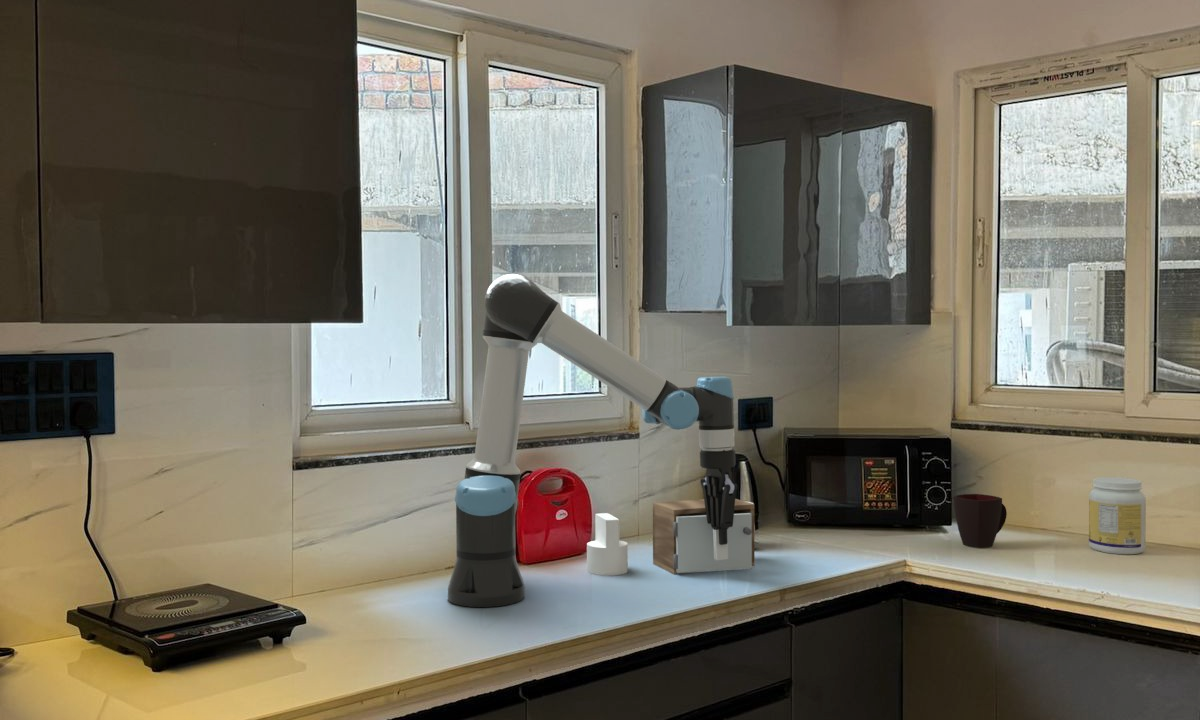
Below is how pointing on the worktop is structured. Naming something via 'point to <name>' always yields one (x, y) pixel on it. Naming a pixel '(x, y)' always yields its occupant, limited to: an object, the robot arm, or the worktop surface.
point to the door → (711, 544)
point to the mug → (979, 518)
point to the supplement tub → (1117, 516)
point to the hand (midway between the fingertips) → (721, 558)
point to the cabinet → (667, 515)
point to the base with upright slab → (607, 548)
